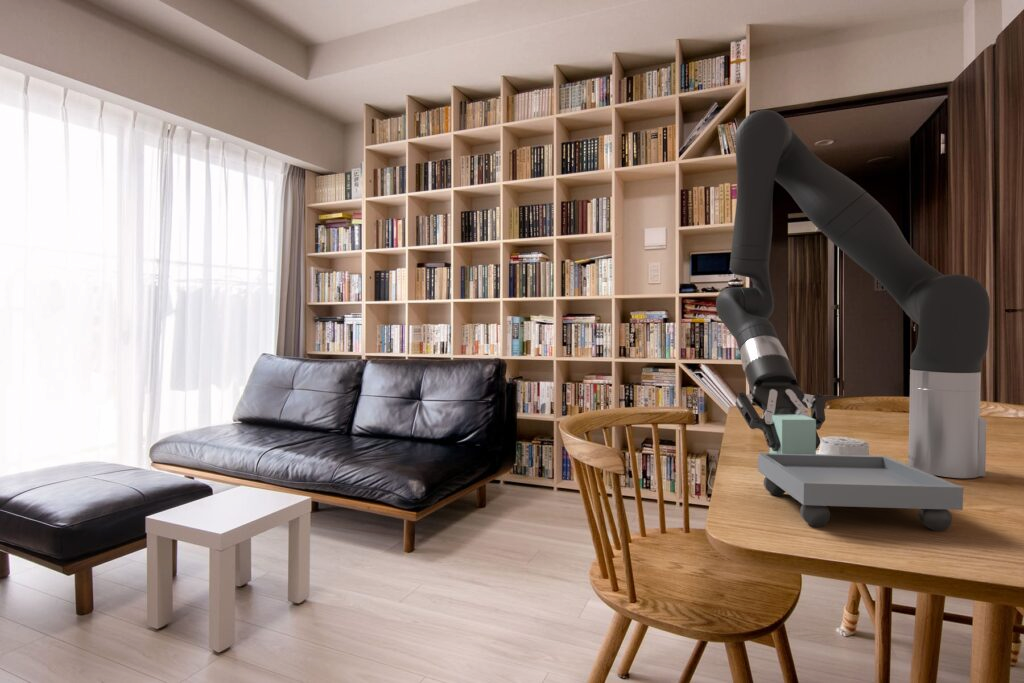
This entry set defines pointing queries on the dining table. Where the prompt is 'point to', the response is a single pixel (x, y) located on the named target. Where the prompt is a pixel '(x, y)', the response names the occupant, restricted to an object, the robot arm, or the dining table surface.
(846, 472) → the grey shallow tray
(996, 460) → the dining table surface
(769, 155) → the robot arm
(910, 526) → the dining table surface
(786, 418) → the sage part block
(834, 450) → the mechanical component
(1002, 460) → the dining table surface
